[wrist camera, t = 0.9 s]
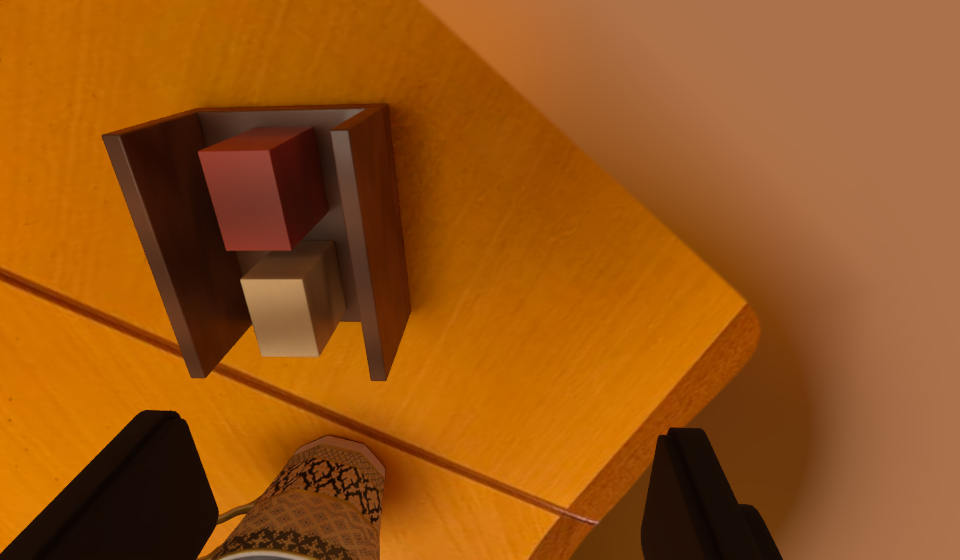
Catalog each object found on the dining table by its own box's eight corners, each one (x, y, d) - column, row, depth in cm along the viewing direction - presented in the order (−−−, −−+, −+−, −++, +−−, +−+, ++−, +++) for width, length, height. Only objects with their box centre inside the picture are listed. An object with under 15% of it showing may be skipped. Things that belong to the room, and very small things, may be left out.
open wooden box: (194, 108, 26) (100, 134, 20) (388, 103, 25) (349, 129, 19) (251, 311, 31) (190, 378, 25) (411, 312, 30) (386, 381, 25)
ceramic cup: (420, 436, 35) (387, 577, 26) (395, 526, 40) (359, 672, 31) (234, 391, 34) (136, 521, 25) (230, 488, 39) (145, 627, 30)
